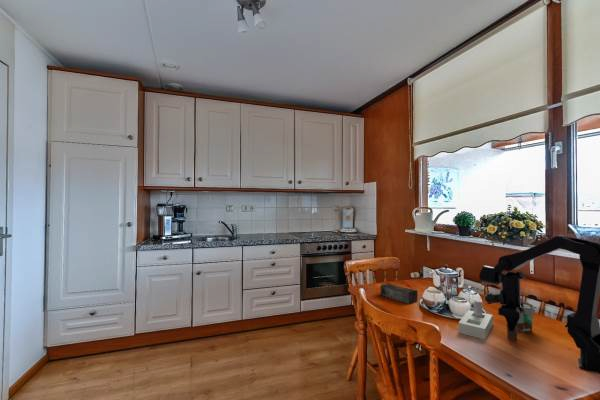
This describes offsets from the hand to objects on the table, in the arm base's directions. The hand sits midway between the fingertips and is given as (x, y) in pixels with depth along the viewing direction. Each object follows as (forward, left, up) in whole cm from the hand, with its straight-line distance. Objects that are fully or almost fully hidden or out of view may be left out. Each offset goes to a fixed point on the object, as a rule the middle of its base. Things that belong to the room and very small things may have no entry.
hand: (512, 328), depth 108 cm
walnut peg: (0, 0, -4) cm, 4 cm away
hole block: (+1, +12, -4) cm, 13 cm away
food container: (+14, -3, -4) cm, 15 cm away
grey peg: (+6, +12, -4) cm, 14 cm away
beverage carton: (+17, +52, -4) cm, 55 cm away
